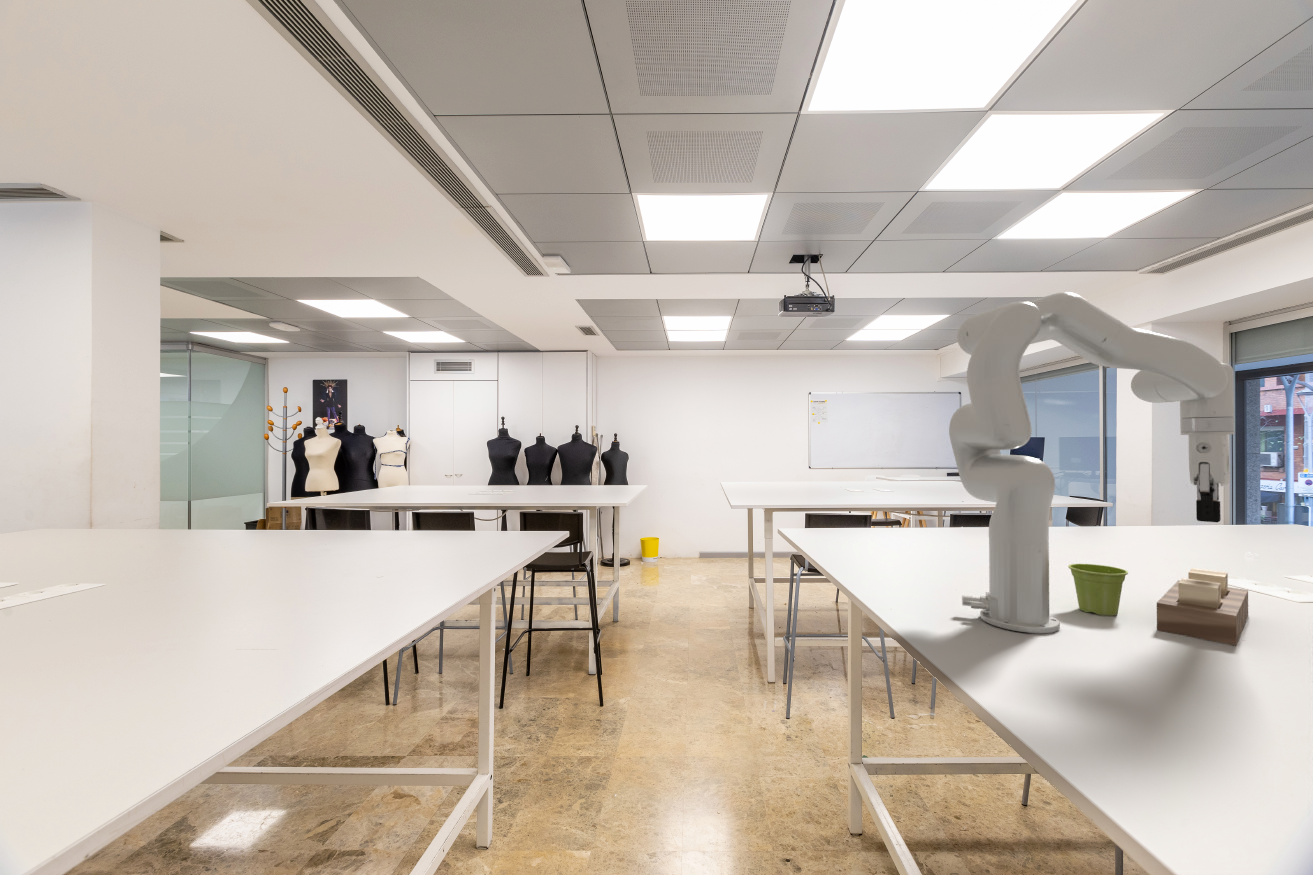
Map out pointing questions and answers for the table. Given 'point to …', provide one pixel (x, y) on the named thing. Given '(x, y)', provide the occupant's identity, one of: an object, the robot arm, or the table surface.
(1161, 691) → the table surface
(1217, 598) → the peg near
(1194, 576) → the peg far
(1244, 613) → the peg board
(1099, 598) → the plant pot
